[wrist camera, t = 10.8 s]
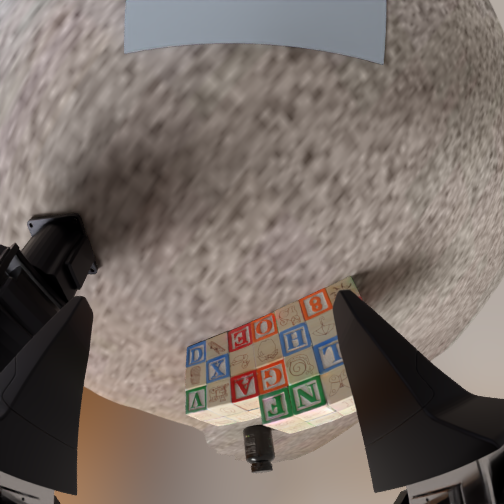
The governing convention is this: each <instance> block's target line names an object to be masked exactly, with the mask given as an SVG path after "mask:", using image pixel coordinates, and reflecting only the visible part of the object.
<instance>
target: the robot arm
mask: <svg viewBox="0 0 504 504" xmlns="http://www.w3.org/2000/svg"><path fill="white" fill-rule="evenodd" d="M74 218H75V219H77V221H76V220H75V219H74ZM31 223H32V224H31ZM27 225H28V228H29V231H30V233H31V236H32V237H31V239H30V240H29V241H28V243H27V244H26V245H25V246H24V248H23V249H22V251H20V250H19V246H18V245H17V244H16V242H15V243H14V244H13V245H12V246H11V247H5V246H3V245H1V244H0V504H60V502H59V501H58V499H57V498H56V496H54V490H56V491H60V492H63V493H68V494H72V495H77V444H78V428H79V418H80V409H81V400H82V393H83V386H84V379H85V373H86V368H87V362H88V356H89V350H90V340H91V331H92V323H93V312H92V309H91V307H90V305H89V304H88V302H87V300H86V298H85V297H83V296H75V293H76V291H77V290H80V289H81V287H82V285H83V283H84V281H85V279H86V277H87V274H96V273H97V271H98V267H97V264H96V261H95V257H94V254H93V251H92V248H91V245H90V242H89V239H88V237H87V235H86V232H85V229H84V226H83V222H82V219H81V217H80V215H79V214H77V213H73V214H64V215H55V216H47V217H39V218H32V219H30V220H29V221H28V222H27ZM92 268H93V269H92ZM74 296H75V297H74ZM333 316H334V321H335V326H336V332H337V338H338V343H339V349H340V352H341V356H342V359H343V363H344V366H345V370H346V374H347V377H348V381H349V384H350V388H351V392H352V396H353V400H354V403H355V407H356V411H357V415H358V419H359V423H360V427H361V432H362V436H363V440H364V445H365V449H366V454H367V459H368V463H369V468H370V472H371V478H372V483H373V488H374V492H375V493H377V492H382V491H386V490H391V489H395V488H399V487H403V486H406V488H407V489H406V490H404V491H401V492H400V494H399V496H398V497H397V499H396V501H395V502H394V504H504V399H498V398H490V397H482V396H477V395H474V394H471V393H469V392H468V391H466V390H465V389H463V388H462V387H461V386H460V385H458V384H457V383H456V382H455V381H453V380H452V379H451V378H450V377H448V376H447V375H446V374H444V373H443V372H442V371H441V370H440V369H438V368H437V367H436V366H434V365H433V364H432V363H431V362H430V361H429V360H428V359H427V358H426V357H425V356H423V355H422V354H421V353H420V352H419V351H418V350H417V349H416V348H415V347H414V346H413V345H412V344H410V343H409V342H408V341H407V340H406V339H405V338H404V337H403V336H402V335H401V334H400V333H398V332H397V331H396V330H395V329H394V328H393V327H392V326H391V325H390V324H389V323H387V322H386V321H385V320H384V319H383V318H382V317H381V316H380V315H378V314H377V313H376V312H375V311H374V310H373V309H372V308H371V307H369V306H368V305H367V304H366V303H365V302H364V301H363V300H362V299H360V298H359V297H358V296H357V295H356V294H355V293H354V292H352V291H351V290H349V289H345V290H339V291H338V292H337V295H336V298H335V301H334V304H333Z"/></svg>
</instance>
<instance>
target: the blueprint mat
mask: <svg viewBox="0 0 504 504" xmlns="http://www.w3.org/2000/svg"><path fill="white" fill-rule="evenodd" d="M385 34H386V0H126V9H125V35H124V54H127V53H133V52H138V51H144V50H150V49H157V48H165V47H173V46H184V45H197V44H221V43H242V44H266V45H279V46H290V47H298V48H306V49H313V50H319V51H325V52H331V53H336V54H341V55H346V56H350V57H355V58H359V59H363V60H367V61H371V62H375V63H378V64H382V65H383V63H384V51H385Z"/></svg>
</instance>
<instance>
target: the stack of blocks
mask: <svg viewBox="0 0 504 504" xmlns="http://www.w3.org/2000/svg"><path fill="white" fill-rule="evenodd" d="M345 289H349V290H351V291H352V292H354V293H355V294H356V295H357V296H358V297H359V298H360V299H362V298H361V296H360V294H359V292H358V290H357V288H356V286H355V284H354V282H353V280H352V278H351V276H349V277H347V278H345V279H343V280H341V281H339V282H337V283H335V284H333V285H331V286H329V287H327V288H323V289H321V290H319V291H317V292H315V293H313V294H311V295H308V296H306V297H304V298H302V299H300V300H298V301H295V302H293V303H291V304H289V305H286V306H284V307H282V308H280V309H277V310H275V311H274V312H273V313H270V314H268V315H266V316H264V317H261V318H259V319H257V320H254V321H252V322H251V323H248V324H246V325H243V326H241V327H238V328H236V329H233V330H231V331H229V332H225V333H223V334H220V335H218V336H215V337H213V338H210V339H208V340H206V341H202V342H200V343H197V344H195V345H192V346H189V347H187V357H186V374H185V390H186V414H187V415H189V416H191V417H194V418H196V419H199V420H201V421H205V422H208V423H210V424H213V425H216V426H223V425H228V424H233V423H237V422H243V421H247V420H251V419H255V418H259V417H261V418H262V425H264V426H267V427H270V428H273V429H276V430H281V431H284V432H286V433H289V434H291V433H295V432H298V431H302V430H305V429H308V428H312V427H314V426H318V425H321V424H325V423H327V422H330V421H333V420H336V419H339V418H341V417H342V416H346V415H348V414H351V413H353V412H356V407H355V403H354V400H353V396H352V392H351V388H350V384H349V381H348V377H347V374H346V370H345V366H344V363H343V359H342V356H341V352H340V349H339V343H338V338H337V332H336V326H335V321H334V316H333V304H334V301H335V298H336V295H337V292H338V291H339V290H345Z"/></svg>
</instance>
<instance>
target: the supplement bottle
mask: <svg viewBox="0 0 504 504" xmlns="http://www.w3.org/2000/svg"><path fill="white" fill-rule="evenodd" d="M243 435H244V445H245V455H246V460H247V462H249V463H251V464H252V466H251V470H252V473H263V472H269V471H272V464H271V461H273V460H274V458H275V453H274V446H273V439H272V432H271V428H270V427H267V426H264V425H257V426H250V427H247V428H245V429H244V430H243Z"/></svg>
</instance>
